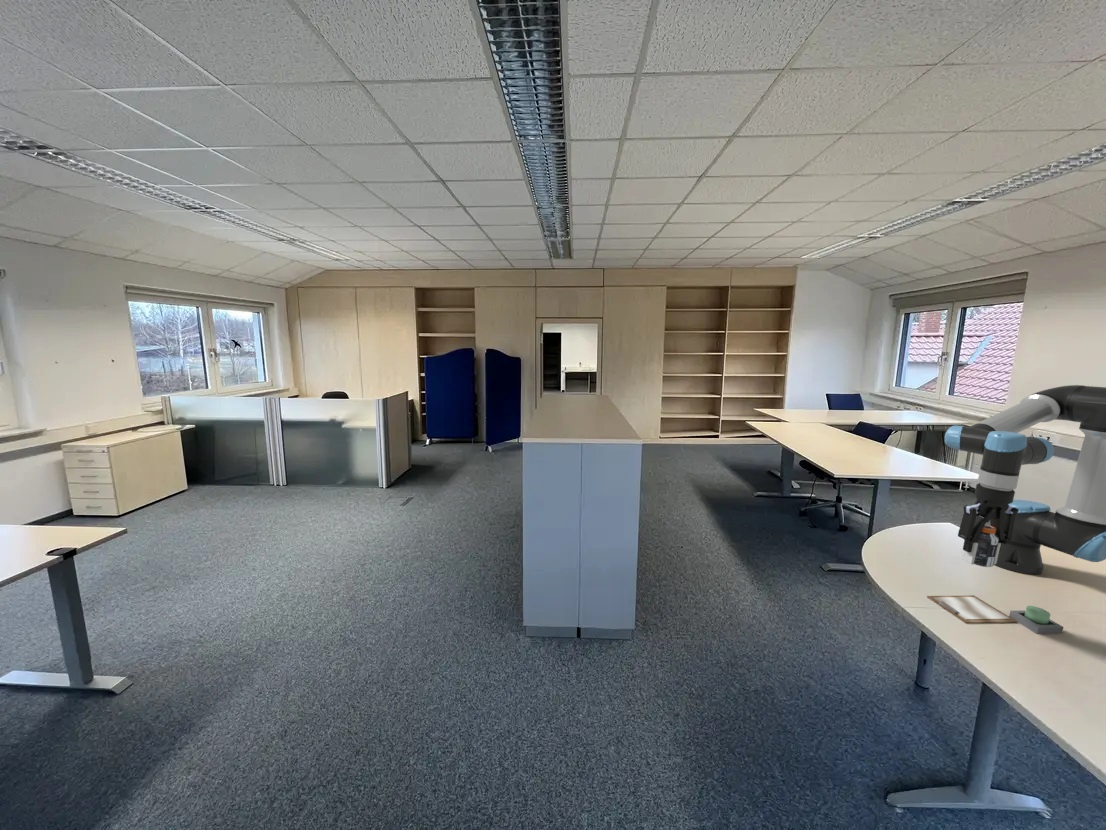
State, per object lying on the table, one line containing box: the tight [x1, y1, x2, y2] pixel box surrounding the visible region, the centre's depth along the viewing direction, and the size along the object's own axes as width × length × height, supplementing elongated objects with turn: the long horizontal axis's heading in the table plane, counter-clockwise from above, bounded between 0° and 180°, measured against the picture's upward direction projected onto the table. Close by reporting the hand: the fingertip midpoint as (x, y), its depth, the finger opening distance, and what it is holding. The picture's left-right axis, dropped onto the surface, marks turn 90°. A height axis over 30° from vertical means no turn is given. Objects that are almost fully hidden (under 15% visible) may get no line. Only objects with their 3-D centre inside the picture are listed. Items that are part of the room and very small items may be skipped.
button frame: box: [1008, 609, 1064, 635], centre depth 117 cm, size 7×7×2 cm
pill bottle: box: [973, 524, 999, 568], centre depth 120 cm, size 6×6×11 cm
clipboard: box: [926, 594, 1018, 624], centre depth 123 cm, size 15×12×1 cm
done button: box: [1024, 605, 1051, 625], centre depth 116 cm, size 4×4×3 cm
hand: (978, 561), depth 121 cm, fingers closed on pill bottle, 6 cm apart
